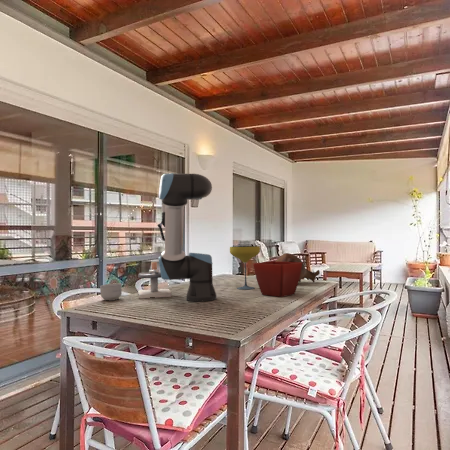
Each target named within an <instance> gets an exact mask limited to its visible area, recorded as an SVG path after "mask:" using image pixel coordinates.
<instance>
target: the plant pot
mask: <svg viewBox="0 0 450 450" xmlns="http://www.w3.org/2000/svg"><path fill="white" fill-rule="evenodd" d="M302 262H303V261H302ZM302 262H280V261H276V260H272V261H264V262H262V261H261V262H254V263H253V270H254V273H255V274H254V276H255V279H256V282H257V284H258V287H259V290H260V292H261V295H263V296H271V297H279V298H282V297H287V296H293V295H295V294H296V291H297V289H298V288H297V287H298V284H299V283H300V282H299V278H300V274H301V268H302Z"/></svg>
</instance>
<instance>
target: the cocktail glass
mask: <svg viewBox="0 0 450 450" xmlns="http://www.w3.org/2000/svg"><path fill="white" fill-rule="evenodd" d="M229 253H230V255H231V256H234V257H235V258H237V259H238V260H240V261H241V262H242V263H243V264H244V285H243V286H239V287H236V290H240V291H241V290H242V291H243V290H244V291H246V290H255V286H250V285H248V283H247V282H248V281H247V263H248V262H249V261H250V260H251V259H253V258H254V257H256V256H257V255H259V254H260V253H261V247H260V246H259V245H240V246H229Z"/></svg>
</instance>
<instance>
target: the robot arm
mask: <svg viewBox="0 0 450 450" xmlns="http://www.w3.org/2000/svg"><path fill="white" fill-rule="evenodd" d="M158 187H159V188H158V199H159V200H161V221H160V223H158V224H157V228H158V229H159V232H160V235H161V240H162V241H163V242H164V250H163V251H162V252H161V255H160V256H158V265H159V272H160V273H161V279H162V280H164V281H165V280H166V281H167V280H168V281H172V280H173V281H174V280H175V281H176V280H188V281H189V285H188V288H187V292H186V296H185V297H186V299H185V300H186V301H189V302H209V301H215V300H217V292H216V289H215V287H214V286H215V285H214V283H213V257H212V256H211V255H210V254H207V253H199V252H189V253H188V255H186V252H185V251H184V250H183V248H184V247H183V243H184V242H183V241H184V240H183V238H184V217H185V216H184V212H185V206H186V205H187V204H188V201H189V200H191V201H193V200H194V201H198V200H202V199H205V198H207V197H209V196H210V195H211V193H212V192H213V185H212V182H211V181H210V179H208V178H207V177H206V176H204V175H203V174H199V173H180V172H179V173H175V172H174V173H173V172H171V173H163V174H162V175H161V177H160V181H159V186H158ZM163 227H164V232H163Z"/></svg>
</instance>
